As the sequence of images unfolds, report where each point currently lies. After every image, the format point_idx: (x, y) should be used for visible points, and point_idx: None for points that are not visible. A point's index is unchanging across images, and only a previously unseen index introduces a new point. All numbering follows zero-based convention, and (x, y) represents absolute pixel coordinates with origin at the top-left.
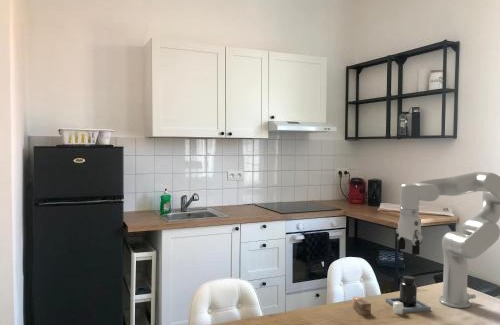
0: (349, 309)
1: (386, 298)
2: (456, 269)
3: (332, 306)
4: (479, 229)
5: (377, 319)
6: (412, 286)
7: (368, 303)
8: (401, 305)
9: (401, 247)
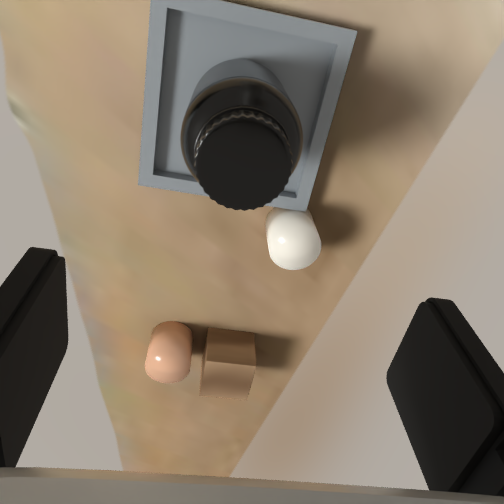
0: None
1: (143, 185)
2: None
3: (132, 403)
4: None
5: (305, 339)
6: (296, 159)
7: (250, 373)
8: (320, 248)
9: (56, 334)
